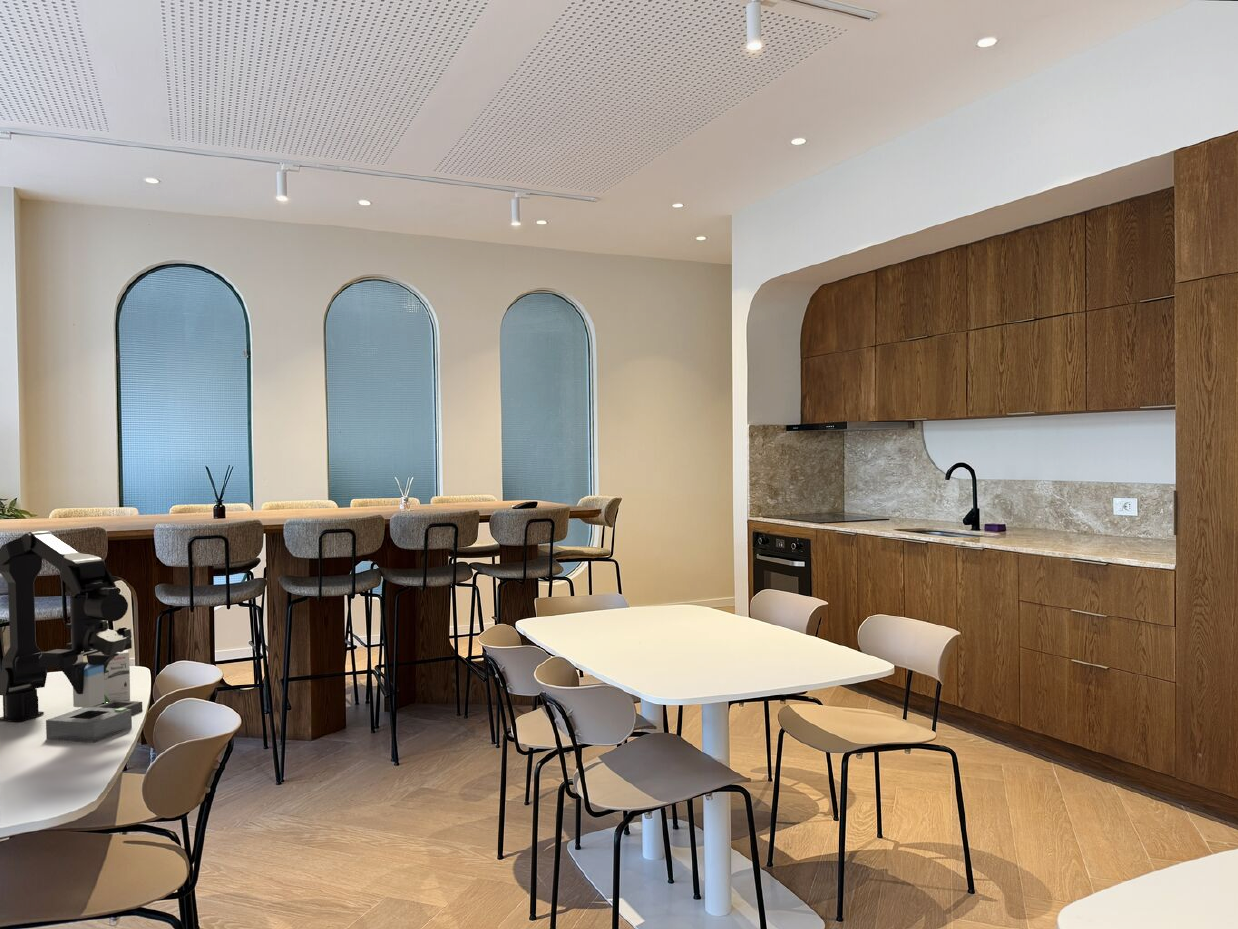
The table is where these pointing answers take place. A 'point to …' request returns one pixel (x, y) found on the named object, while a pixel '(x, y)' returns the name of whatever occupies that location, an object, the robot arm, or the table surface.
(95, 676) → the plug
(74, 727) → the port
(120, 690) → the ink box
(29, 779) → the table surface
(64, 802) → the table surface
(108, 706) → the gray square frame
